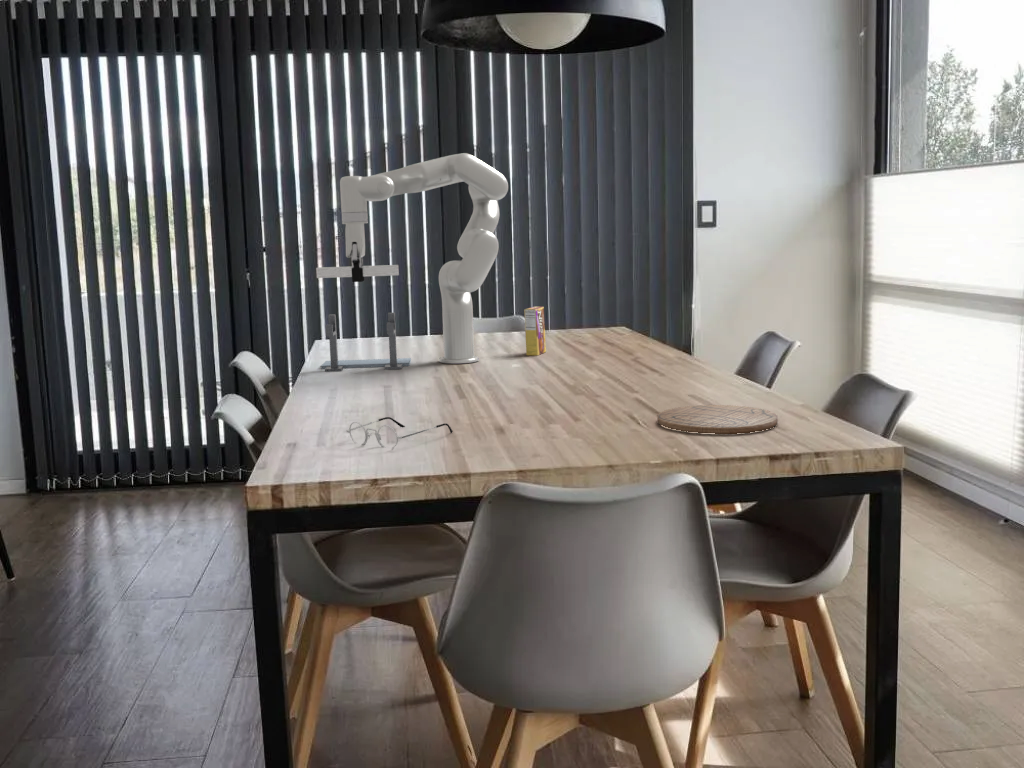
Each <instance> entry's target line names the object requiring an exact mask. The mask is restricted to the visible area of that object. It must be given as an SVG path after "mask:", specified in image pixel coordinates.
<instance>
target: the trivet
mask: <svg viewBox="0 0 1024 768" xmlns="http://www.w3.org/2000/svg"><path fill="white" fill-rule="evenodd" d="M656 416H657V417H656V418H657V421H658V423H659V424H660V425H663V426H665V427H668V428H671V429H676V430H681V431H686V432H687V431H688V432H698V433H715V434H737V433H750V432H755V431H762V430H766V429H770V428H773V427H774V426H776V425H777V426H778V417H779V416H778V414H776V413H775V412H773V411H770V410H766V409H762V408H759V407H751V406H746V405H745V406H744V405H731V404H729V405H728V404H727V405H726V404H703V405H702V404H701V405H700V404H699V405H697V404H696V405H686V406H680V407H679V406H678V407H673V408H669V409H665V410H662V411H660V412H659V413H658V414H657V415H656ZM658 423H657V424H658ZM659 424H658V425H659ZM777 426H776V427H777ZM774 428H775V427H774ZM774 428H773V429H774ZM770 430H771V429H770Z"/></svg>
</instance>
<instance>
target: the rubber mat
mask: <svg viewBox="0 0 1024 768" xmlns="http://www.w3.org/2000/svg"><path fill="white" fill-rule="evenodd" d="M411 362H412V358H411V357H401V358H398V357H397V364H402V367H409V366H410V365H411ZM386 364H390V358H372V359H370V358H369V359H345V360H344V359H341V360H340V359H338V366H344V369H357V368H358V369H359V368H385V365H386ZM327 366H331V360H325V361H324V362H323V363H322V364H321V366H320V368H321V370H325V368H326V367H327Z"/></svg>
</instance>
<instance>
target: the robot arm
mask: <svg viewBox="0 0 1024 768" xmlns="http://www.w3.org/2000/svg"><path fill="white" fill-rule="evenodd" d="M462 182H464V183H465V184H467V185H468V193H469V196H470V198H471V200H472V205H473V208H472V209H473V210H472V214H471V215H470V219H469V221H468V223H467V224H466V226H465V228H464V230H463V232H462V233H461V236H460V238H459V240H458V242H457V246H456V249H457V253H458V255H459V256H460V257H461V258H462V259H461V260H450V261H447V262H445V263H444V264H443V265H442V266H441V268H440V270H439V273H438V284H439V289H440V296H441V307H442V308H441V309H442V311H441V312H442V313H441V315H442V337H443V356H442V357H439V360H438V361H439V362H440V363H441V364H442V363H443V364H452V365H453V364H454V365H455V364H468V363H469V364H470V363H471V364H472V363H477V362H479V361H480V356H478V355H475V344H474V343H475V340H474V339H475V338H474V313H473V312H474V310H473V308H474V306H473V299H472V294H471V293H473V292H475V291H477V290H478V289H479V288H480V287H482V285H483V283H484V282H485V280H486V278H487V276H488V274H489V272H490V271H491V268H492V267H493V264H494V262H495V260H496V258H497V256H498V253H499V249H500V248H499V246H500V245H499V240H498V238H497V236H496V235H495V234H494V233H495V230H496V228H497V226H498V224H499V221H500V220H499V219H500V215H501V214H500V207H499V200H502V199H503V198H505V197H506V195H507V193H508V191H509V183H508V179H507V178H506V177H505V175H504V174H503V173H502V172H499V171H498V170H496V169H495V168H493V167H492V166H490V165H489V164H487V163H486V162H484V161H483V160H481V159H479V158H477V157H476V156H474V155H472V154H470V153H468V152H463V153H456V154H450V155H446V156H441V157H437V158H433V159H429V160H426V161H421V162H418V163H413V164H409V165H406V166H404V167H401V168H398V169H392V170H389V171H384V172H379V173H377V174H373V175H369V176H363V175H362V176H360V175H347V176H343V177H341V178H340V180H339V189H340V206H341V210H340V211H341V224H342V225H345V231H344V233H345V236H344V237H345V257H346V258H351V266H352V277H351V281H352V283H361V282H364V281H365V277H363V268H362V266H364V259H363V257H365V255H366V237H365V224H368V223H369V220H368V219H369V218H368V202H381V201H382V202H383V201H386V200H389V198H391V197H394V196H399V195H403V194H404V195H405V194H416V193H421V192H426V191H430V190H433V189H437V188H442V187H446V186H448V185H449V186H450V185H453V184H458V183H462Z"/></svg>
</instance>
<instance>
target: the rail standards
mask: <svg viewBox="0 0 1024 768" xmlns="http://www.w3.org/2000/svg"><path fill="white" fill-rule="evenodd" d="M327 318H328V319H327V321H328V322H327V323H328V324H325V335H326V337H328V339H329V355H330V356H329V357H330V361H331V366H327V367H326V368H325V369H324V372H326V373H327V372H329V373H330V372H333V373H334V372H342V371H343V370H345V368H344V366H338V360H339V355H338V352H339V351H338V350H339V349H338V333H337V319H336V318H337V317H336V313H335V314H328V315H327ZM396 328H397V327H396V312H388V313H387V322H386V334H387V335H388V347H389V359H390V364H386V365H385V367H384V370H385V371H387V370H392V371H393V370H402V368H403V366H402V364H397V358H398V355H397V353H398V352H397V351H398V350H397V333H396V332H397V331H396Z"/></svg>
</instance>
